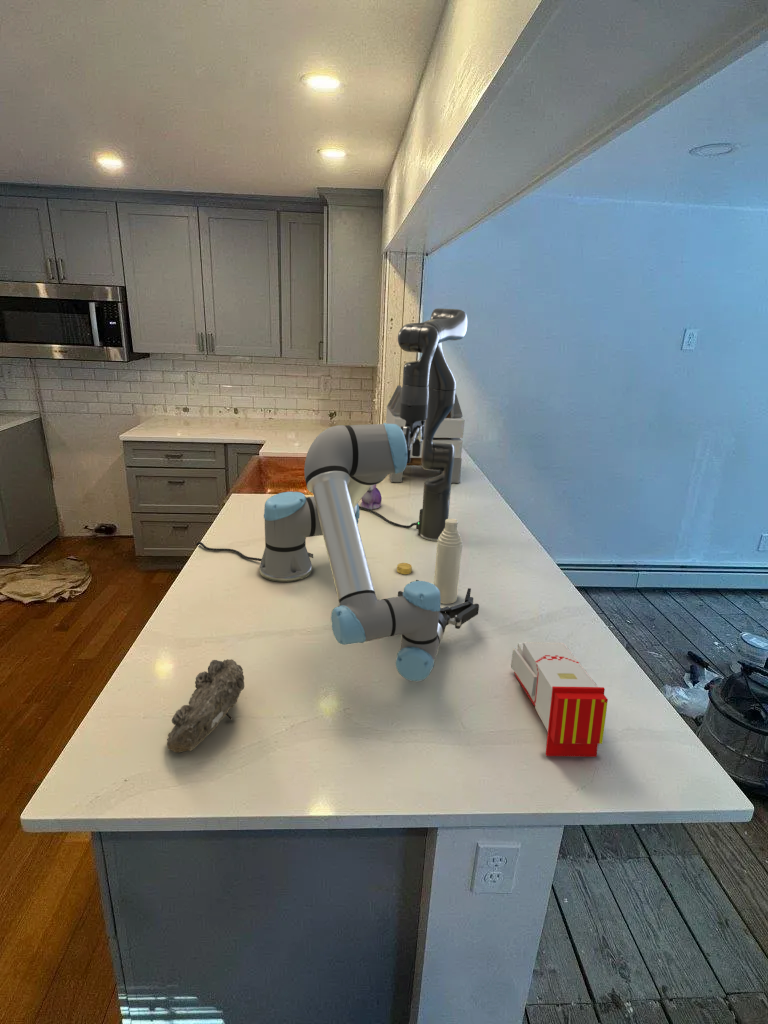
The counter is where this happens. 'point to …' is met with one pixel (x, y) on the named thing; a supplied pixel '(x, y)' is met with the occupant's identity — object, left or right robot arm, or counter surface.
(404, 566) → the cap
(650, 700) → the counter surface
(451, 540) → the bottle
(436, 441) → the transformer
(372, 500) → the figurine
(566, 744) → the toy
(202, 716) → the fossil
